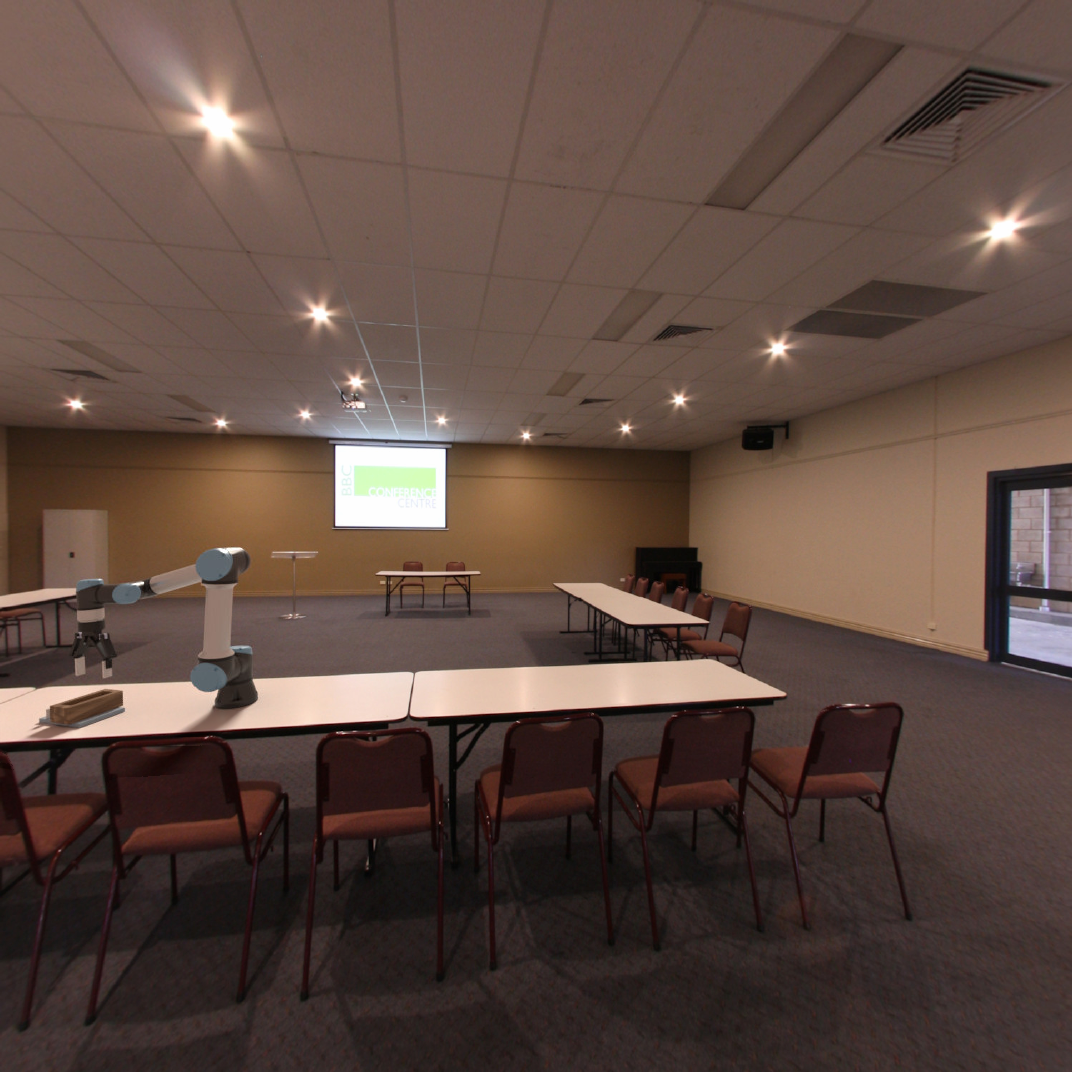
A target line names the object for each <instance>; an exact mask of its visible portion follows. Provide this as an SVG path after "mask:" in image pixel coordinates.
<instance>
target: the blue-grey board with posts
mask: <svg viewBox="0 0 1072 1072" xmlns="http://www.w3.org/2000/svg"><path fill="white" fill-rule="evenodd" d="M45 712H46V713H45V716H42V717H40V718H38V722H39V723H40V724H49V725H56V726H62V727H69V728H78V729H79V728H80V729H81V728H83V727H86V726H89V725H91V724H95V723H97V722H100V721H102V720H106V719H108V718H111V717H113V716H117V715H120V714H123V713H124V712H126V708H125V707H124V706H121V707H118V708H115V709H112V710H109V711H106V712H104V713H101V714H98V715H95V716H92V717H89V718H86V719H84V720H81V721H78V722H75V723H72V724H69V725H67V724H59V723H52V722H50V707H49V708H46V709H45Z"/></svg>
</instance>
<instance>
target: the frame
mask: <svg viewBox="0 0 1072 1072" xmlns="http://www.w3.org/2000/svg"><path fill="white" fill-rule="evenodd" d="M118 707H124V691H123V690H119V689H109V688H104V689H100V690H97V691H94V692H91V693H88V694H84V695H81V696H78V697H74V698H71V699H67V700H65V701H61V702H59V703H54V704H52V705H49V708H50V722H52V723H59V724H67V725H69V724H72V723H75V722H78V721H81V720H84V719H86V718H89V717H92V716H95V715H98V714H101V713H104V712H106V711H109V710H112V709H115V708H118Z"/></svg>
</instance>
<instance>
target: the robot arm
mask: <svg viewBox="0 0 1072 1072" xmlns="http://www.w3.org/2000/svg"><path fill="white" fill-rule="evenodd" d="M251 564H252V557H251V555H250V554H249V552H248V551H247V550H246V549H244V548H242V547H238V546H231V547H230V546H229V547H228V546H227V547H215V548H212V549H211V548H209V549H207V550H205V551H204V552H202V553H200V555H199V556H198V557H197V558H196V561H195V564H190V565H188V566H185V567H184V566H183V567H181V568H178V569H174V570H172V571H168V572H164V573H161V574H158V575H155V576H151V577H148V578H147V577H146V578H145V579H144V578H143V579H140V580H134V581H129V582H128V581H127V582H121V583H107V584H105V582H104V579H102V578H88V579H87V578H86V579H81V580H80V579H79V580H78V581H77V582H76V586H75V587H76V588H75V595H76V607H77V608H76V616H77V617H76V620H77V632H75V633H74V640H73V643H72V645H71V648H70V652H69V655H68V656H69V657H72V658H73V659H74V670H75V672H74V673H75V676H76V677H79V676H83V675H85V674H86V660H85V659H86V657H85V653H86V651H87V650H88V648H89V647H90V646H93V647H94V648H95V649H96V650H97V652H98V653H99V655H100V656H101V657H102V660H101V668H102V669H101V670H102V679H107V678H110V677H113V659H115V658H117V656H118V655H117V652H116V650H115V647H114V645H113V643H112V640H111V636H110V633H109V632H106V633H105V632H104V633H103V630H105V629H106V619H105V617H106V616H105V613H106V612H105V605H115V604H116V605H128V604H134V603H136V602H137V601H139V600H144V599H149V598H154V597H156V596H159V595H161V594H165V593H168V592H171V591H174V590H175V591H176V590H178V589H181V588H184V587H188V586H191V585H194V584H198V583H201V585H203V586H204V587H205V607H204V608H205V609H204V627H203V628H204V629H203V632H204V633H203V650H202V651H201V652H199V654H198V655H197V664H196V665H194V667H193V669H192V670H191V671H190V676H189V677H190V682H191V684H192V685H193V687H194V688H196V689H197V690H198V691H201V692H204V693H212V692H216V691H217V693H216V697H215V699H214V707H215V708H216V709H236V708H241V707H244V706H248V705H251V704H253V703H255V702H256V701H258V699H259V692H258V690H257V688H256V685H255V683H254V679H253V676H254V675H253V672H254V670H253V669H254V668H253V667H254V665H253V663H254V662H253V659H254V658H253V657H254V653H253V648H252V647H251V646H250V645H234V646H233V645H232V646H231V641H232V640H231V638H232V622H233V621H232V618H233V600H234V599H233V598H234V597H233V596H234V587H235V586H236V585H238V584H239V576H240V575H242V574H244V573H246V572H247V571H248V570H249V569H250V567H251Z"/></svg>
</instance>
